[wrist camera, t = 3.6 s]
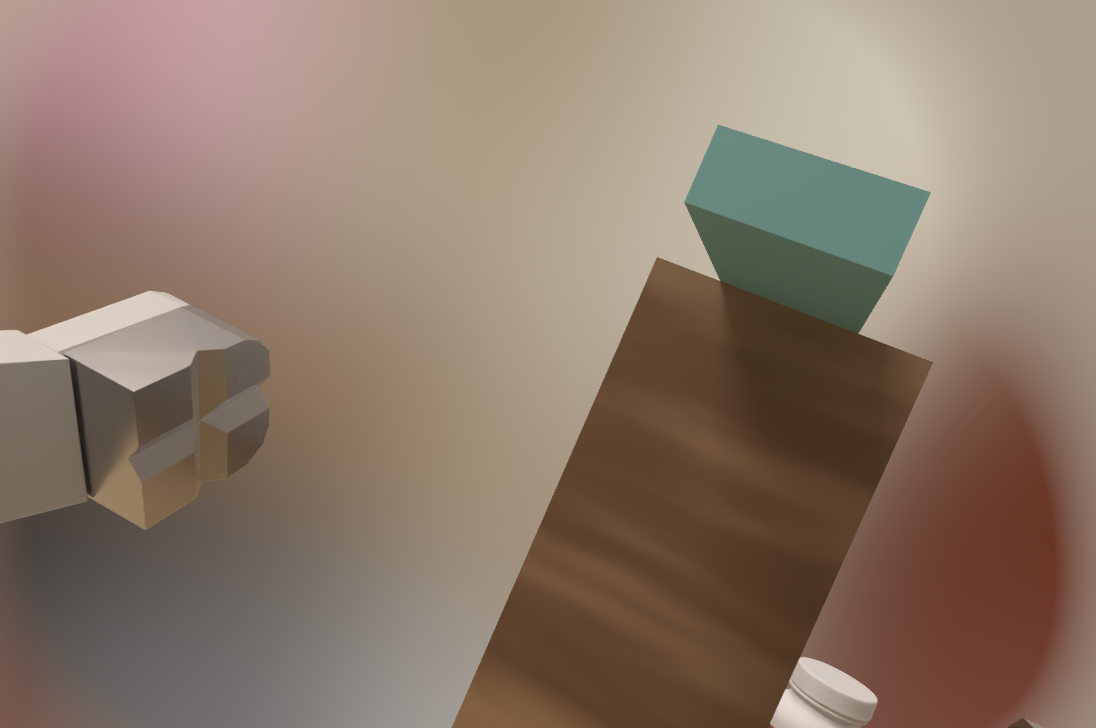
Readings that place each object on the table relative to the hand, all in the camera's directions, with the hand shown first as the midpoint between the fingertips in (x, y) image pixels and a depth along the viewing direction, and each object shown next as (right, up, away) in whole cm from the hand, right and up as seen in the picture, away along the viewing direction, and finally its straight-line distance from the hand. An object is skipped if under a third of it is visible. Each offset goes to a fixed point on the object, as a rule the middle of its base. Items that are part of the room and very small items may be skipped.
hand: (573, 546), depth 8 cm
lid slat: (+7, +3, +16) cm, 18 cm away
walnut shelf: (-2, -21, +21) cm, 30 cm away
